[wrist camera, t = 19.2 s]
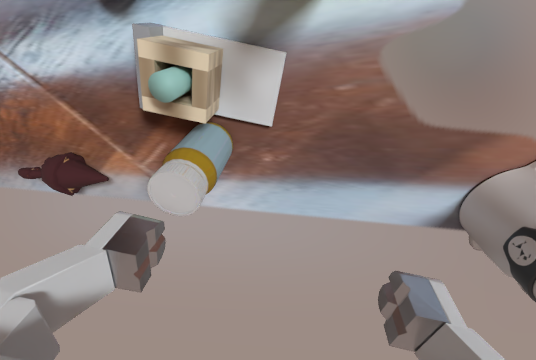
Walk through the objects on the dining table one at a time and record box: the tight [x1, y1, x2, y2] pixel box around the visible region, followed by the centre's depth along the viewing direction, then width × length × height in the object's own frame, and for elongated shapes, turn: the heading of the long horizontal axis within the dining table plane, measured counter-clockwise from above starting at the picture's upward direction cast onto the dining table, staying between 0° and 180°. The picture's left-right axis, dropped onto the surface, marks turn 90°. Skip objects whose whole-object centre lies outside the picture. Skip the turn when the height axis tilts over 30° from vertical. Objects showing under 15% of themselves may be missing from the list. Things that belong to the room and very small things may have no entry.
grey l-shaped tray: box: [132, 23, 287, 127], centre depth 35 cm, size 18×10×4 cm, turn 80°
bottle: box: [147, 122, 233, 216], centre depth 36 cm, size 7×7×15 cm
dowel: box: [148, 65, 192, 103], centre depth 32 cm, size 3×3×9 cm
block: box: [137, 36, 223, 124], centre depth 33 cm, size 8×8×6 cm
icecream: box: [18, 152, 108, 196], centre depth 45 cm, size 7×7×15 cm
